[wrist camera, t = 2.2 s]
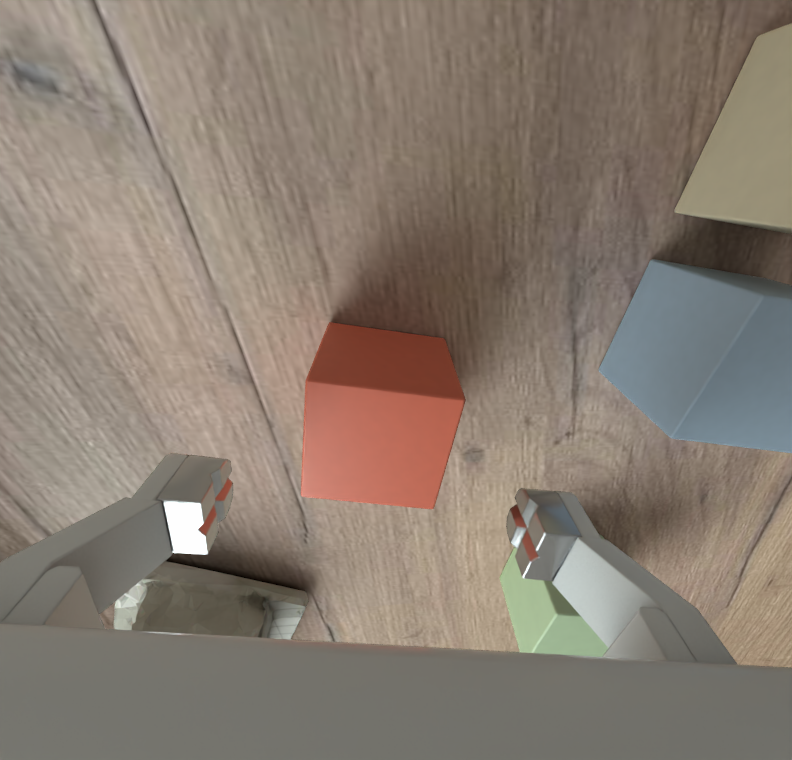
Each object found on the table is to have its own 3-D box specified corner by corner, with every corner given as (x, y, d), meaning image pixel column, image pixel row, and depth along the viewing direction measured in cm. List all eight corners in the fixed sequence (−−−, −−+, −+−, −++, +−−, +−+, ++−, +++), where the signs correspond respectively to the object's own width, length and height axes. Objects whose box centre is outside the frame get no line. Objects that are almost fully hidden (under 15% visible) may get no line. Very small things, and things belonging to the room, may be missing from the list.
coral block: (328, 321, 14) (305, 378, 10) (445, 337, 14) (467, 399, 10) (322, 418, 16) (300, 497, 12) (423, 430, 16) (433, 510, 13)
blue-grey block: (650, 258, 13) (764, 294, 9) (764, 277, 13) (921, 320, 9) (597, 370, 15) (670, 439, 11) (697, 384, 16) (801, 455, 12)
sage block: (523, 526, 20) (556, 614, 16) (602, 534, 20) (654, 621, 16) (498, 577, 22) (522, 666, 18) (570, 583, 22) (609, 671, 18)
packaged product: (63, 647, 16) (293, 682, 18) (132, 546, 20) (311, 584, 22) (72, 785, 24) (230, 799, 26) (120, 692, 28) (252, 710, 30)
